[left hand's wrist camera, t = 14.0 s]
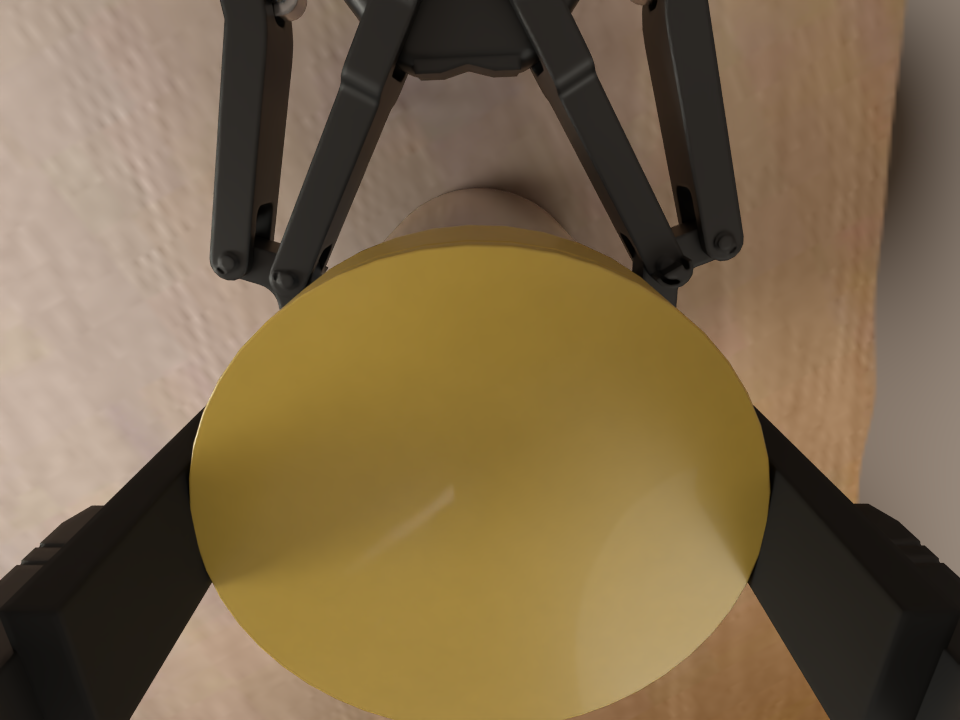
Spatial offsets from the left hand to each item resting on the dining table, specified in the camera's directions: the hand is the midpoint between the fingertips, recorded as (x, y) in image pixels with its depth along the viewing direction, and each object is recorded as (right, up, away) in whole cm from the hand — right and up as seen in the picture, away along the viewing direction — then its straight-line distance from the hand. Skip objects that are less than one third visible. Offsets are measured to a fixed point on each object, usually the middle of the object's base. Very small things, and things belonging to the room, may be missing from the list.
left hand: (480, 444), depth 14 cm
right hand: (0, -1, +8) cm, 9 cm away
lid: (0, -1, -3) cm, 3 cm away
